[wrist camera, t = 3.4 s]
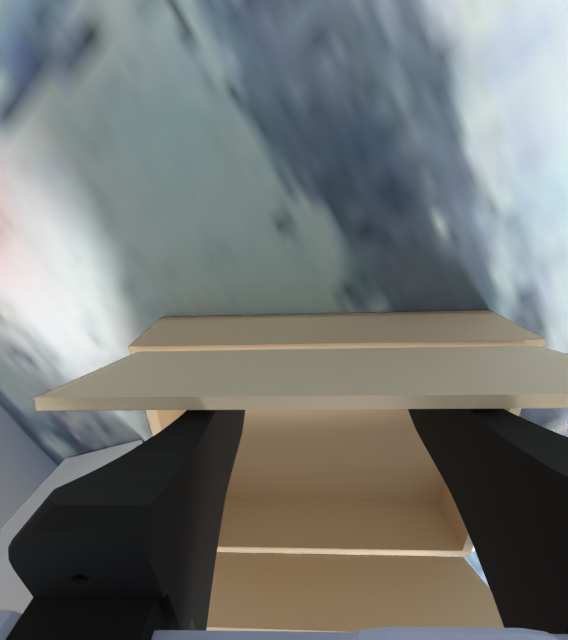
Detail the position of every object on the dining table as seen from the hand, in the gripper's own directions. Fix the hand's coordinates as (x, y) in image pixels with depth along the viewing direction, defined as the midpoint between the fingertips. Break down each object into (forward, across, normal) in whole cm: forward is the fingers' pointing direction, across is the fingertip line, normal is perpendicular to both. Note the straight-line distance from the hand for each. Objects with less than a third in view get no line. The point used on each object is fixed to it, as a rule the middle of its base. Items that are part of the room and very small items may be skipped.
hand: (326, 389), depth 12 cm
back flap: (0, 0, +14) cm, 14 cm away
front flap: (-1, 0, -1) cm, 2 cm away
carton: (+6, 0, +7) cm, 10 cm away
